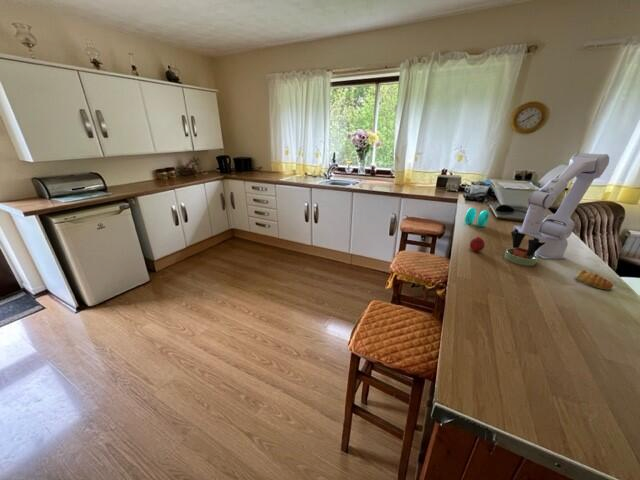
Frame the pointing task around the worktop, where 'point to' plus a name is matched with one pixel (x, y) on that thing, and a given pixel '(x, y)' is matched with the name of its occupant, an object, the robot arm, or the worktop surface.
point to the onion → (477, 244)
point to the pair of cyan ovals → (481, 218)
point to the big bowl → (519, 260)
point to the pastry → (593, 280)
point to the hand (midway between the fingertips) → (522, 251)
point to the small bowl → (521, 253)
